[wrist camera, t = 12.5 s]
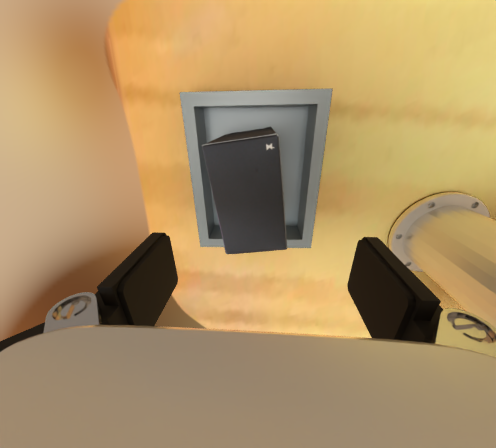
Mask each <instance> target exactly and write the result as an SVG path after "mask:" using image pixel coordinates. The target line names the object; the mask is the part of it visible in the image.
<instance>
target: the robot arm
mask: <svg viewBox="0 0 496 448" xmlns="http://www.w3.org/2000/svg"><path fill="white" fill-rule="evenodd" d="M388 246H389V248H388V247H387V246H386V245H385V244H384V243H383V242H382V241H381V240H380V239H379V238H377V237H364V238H363V239H362V240H359V241H358V244H357V248H356V252H355V256H354V260H353V264H352V268H351V273H350V277H349V281H348V291H349V293H350V295H351V297H352V299H353V301H354V303H355V305H356V307H357V309H358V311H359V313H360V315H361V317H362V319H363V321H364V323H365V325H366V327H367V329H368V331H369V333H370V335H371V337H372V338H361V337H344V336H328V335H311V334H294V333H276V332H258V331H239V330H220V329H199V328H179V327H158V326H154V325H155V323H156V322H157V320H158V318H159V316H160V314H161V312H162V311H163V309H164V307H165V305H166V303H167V301H168V300H169V298H170V296H171V294H172V292H173V290H174V289H175V287H176V285H177V282H178V276H177V271H176V266H175V261H174V256H173V251H172V246H171V241H170V237H169V236H167V235H166V234H165V233H152V234H151V235H150V236H149V237H148V238H147V239H146V240H145V241H144V242H143V243H141V244H140V246H138V247H137V248H136V249H135V250H134V251H133V252H132V253H131V254H130V255H129V256H128V257H127V258H126V259H125V260H124V261H123V262H122V263H121V264H120V265H119V266H118V267H117V268H116V269H115V270H114V271H113V272H112V273H111V274H110V275H109V276H108V277H107V278H106V279H105V280H104V281H103V282H101V283H100V285H98V286H97V288H98V292H97V293H96V294H95V295H94V294H92V293H87V292H86V293H79V294H76V295H72V296H70V297H67V298H65V299H64V300H62V301H60V302H58V303H57V304H56V305H55V306H53V307H52V308H51V310H50V311H49V312H48V314H47V316H46V322H45V323H42V324H40V325H38V326H35V327H33V328H31V329H28V330H26V331H24V332H21V333H19V334H17V335H14V336H12V337H10V338H7V339H5V340H3V341H1V342H0V448H496V220H494V219H491V218H490V214H489V211H488V209H487V207H486V206H485V204H484V203H483V202H482V201H480V200H479V199H477V198H475V197H473V196H470V195H467V194H464V193H459V192H445V193H439V194H435V195H432V196H429V197H427V198H425V199H422V200H420V201H418V202H417V203H415V204H414V205H412V206H411V207H409V208H408V209H407V210H406V211H405V212H404V213H402V215H401V216H400V217H399V218H398V219H397V220H396V222H395V224H394V225H393V227H392V229H391V232H390V234H389V240H388ZM410 270H412V271H418V272H425V273H426V274H427V275H428V276H429V277H430V278H431V279H432V280H433V281H435V282H436V283H437V284H438V285H439V286H440V287H441V288H442V289H443V290H444V291H446V292H447V293H448V294H449V295H450V296H451V297H452V298H453V299H454V300H455V301H456V302H458V303H459V304H460V305H461V306H462V307H463V308H464V309H465V310H466V311H464V310H460V309H454V308H449V309H445V310H443V309H442V308H441V307H440V306H439V304H440V302H441V301H440V300H439V299H438V298H437V297H436V296H435V295H434V294H433V293H432V292H431V291H430V290H429V289H428V288H427V287H426V286H425V285H424V284H423V283H422V282H421V281H420V280H419V279H418V278H417V277H416V276H415V275H414V274H413V273H412V272H411V271H410Z"/></svg>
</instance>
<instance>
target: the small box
mask: <svg viewBox="0 0 496 448" xmlns="http://www.w3.org/2000/svg"><path fill="white" fill-rule="evenodd" d="M202 150H203V154H204V159H205V163H206V168H207V172H208V176H209V180H210V185H211V189H212V194H213V198H214V202H215V207H216V211H217V216H218V220H219V224H220V229H221V233H222V238H223V243H224V247H225V252H226V254H239V253H251V252H262V251H274V250H285V249H287V237H286V223H285V207H284V192H283V181H282V165H281V152H280V138H279V135H278V134H277V133H276V132H275V131H274V130H273V128H272V127H271V126H270V127H266V128H264V129H255V130H251V131H244V132H234V133H230V134H226V135H223V136H221V137H219V138H217V139H215V140H212V141H210V142H208V143H206V144H203V145H202Z"/></svg>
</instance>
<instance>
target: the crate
mask: <svg viewBox="0 0 496 448" xmlns="http://www.w3.org/2000/svg"><path fill="white" fill-rule="evenodd" d="M331 97H332V89H297V90H255V91H214V92H180V98H181V106H182V113H183V121H184V128H185V136H186V143H187V150H188V158H189V165H190V173H191V180H192V188H193V195H194V202H195V210H196V217H197V225H198V232H199V239H200V247H224V243H223V238H222V233H221V229H220V224H219V220H218V216H217V211H216V207H215V202H214V198H213V194H212V189H211V185H210V180H209V176H208V172H207V168H206V163H205V159H204V154H203V150H202V145H203V144H206V143H208V142H210V141H212V140H215V139H217V138H219V137H221V136H223V135H226V134H230V133H234V132H244V131H251V130H255V129H264V128H266V127H270V126H271V127H272V128H273V130H274V131H275V132H276V133H277V134H278V135H279V138H280V152H281V165H282V181H283V192H284V207H285V223H286V237H287V248H311V243H312V236H313V228H314V221H315V214H316V206H317V199H318V192H319V184H320V177H321V170H322V162H323V155H324V148H325V141H326V133H327V126H328V119H329V111H330V104H331Z"/></svg>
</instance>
